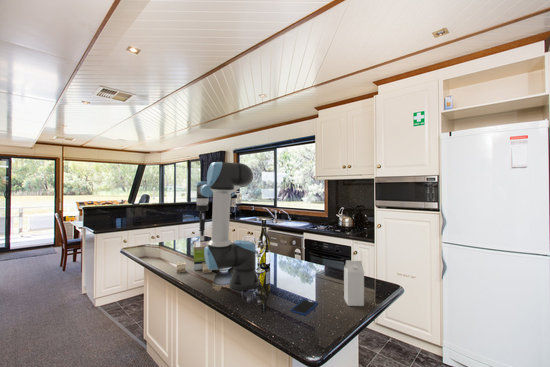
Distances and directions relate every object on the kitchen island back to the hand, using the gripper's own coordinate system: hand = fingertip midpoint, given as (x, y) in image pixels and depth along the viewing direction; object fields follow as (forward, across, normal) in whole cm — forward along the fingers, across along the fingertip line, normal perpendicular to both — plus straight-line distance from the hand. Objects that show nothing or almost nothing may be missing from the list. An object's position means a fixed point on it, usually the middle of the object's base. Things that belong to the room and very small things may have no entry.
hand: (201, 240), depth 170 cm
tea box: (+17, 0, 0) cm, 17 cm away
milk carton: (+16, -80, -59) cm, 101 cm away
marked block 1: (+17, -6, +13) cm, 22 cm away
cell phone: (+17, -76, -36) cm, 86 cm away
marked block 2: (+17, -12, -2) cm, 21 cm away
